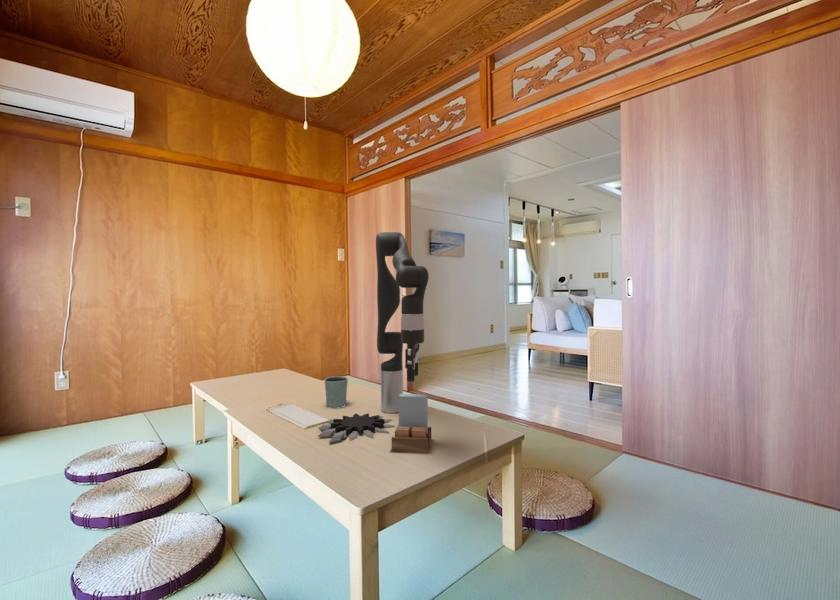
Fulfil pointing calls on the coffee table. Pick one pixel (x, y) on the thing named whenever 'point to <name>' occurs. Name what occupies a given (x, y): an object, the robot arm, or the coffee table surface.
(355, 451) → the coffee table surface
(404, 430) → the offcut
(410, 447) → the rack
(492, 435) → the coffee table surface
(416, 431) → the offcut
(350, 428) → the decorative piece
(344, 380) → the teal cup
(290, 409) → the baseboard molding
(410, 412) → the tall board
